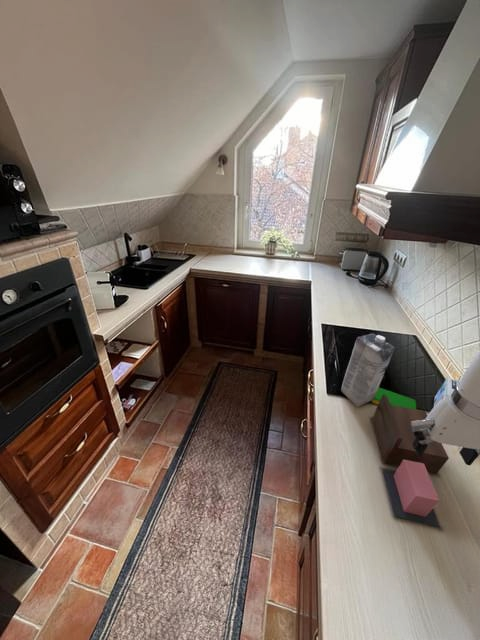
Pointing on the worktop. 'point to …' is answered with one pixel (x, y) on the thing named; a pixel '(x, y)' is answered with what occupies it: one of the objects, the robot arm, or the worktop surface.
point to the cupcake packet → (415, 488)
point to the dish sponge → (394, 399)
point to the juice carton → (366, 368)
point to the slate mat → (397, 504)
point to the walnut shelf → (404, 437)
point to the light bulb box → (445, 390)
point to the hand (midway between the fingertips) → (440, 454)
